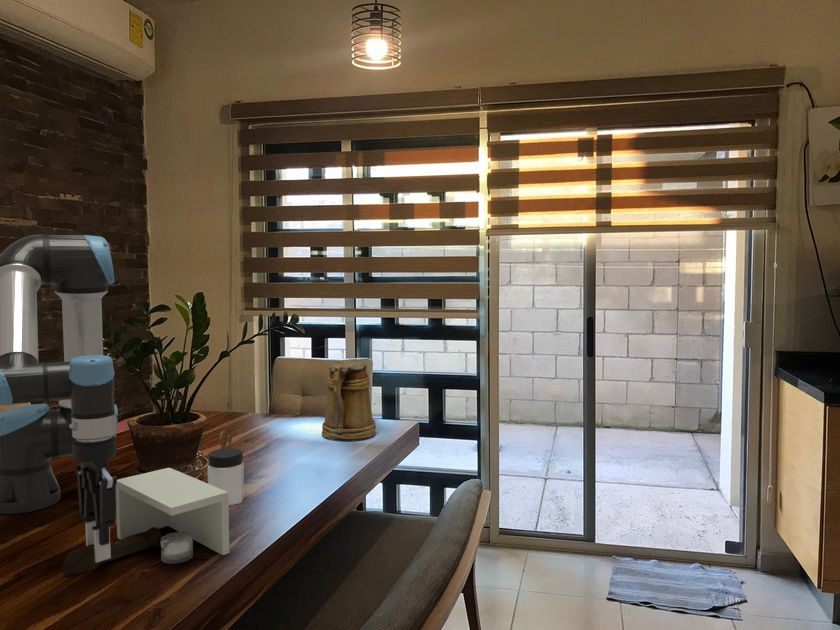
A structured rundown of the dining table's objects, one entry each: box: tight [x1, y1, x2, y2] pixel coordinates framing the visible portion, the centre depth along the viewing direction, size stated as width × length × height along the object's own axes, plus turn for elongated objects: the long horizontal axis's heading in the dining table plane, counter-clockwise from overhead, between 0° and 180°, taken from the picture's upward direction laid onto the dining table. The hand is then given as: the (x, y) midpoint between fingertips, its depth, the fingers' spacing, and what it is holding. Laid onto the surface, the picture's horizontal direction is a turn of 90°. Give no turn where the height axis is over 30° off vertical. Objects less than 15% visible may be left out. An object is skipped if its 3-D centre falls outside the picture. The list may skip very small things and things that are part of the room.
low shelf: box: [115, 467, 230, 556], centre depth 141 cm, size 24×12×12 cm, turn 47°
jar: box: [207, 447, 245, 507], centre depth 167 cm, size 9×8×12 cm
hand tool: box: [62, 527, 163, 577], centre depth 135 cm, size 19×4×5 cm, turn 139°
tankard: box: [321, 358, 377, 442], centre depth 228 cm, size 18×24×25 cm
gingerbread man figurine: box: [216, 430, 233, 450], centre depth 188 cm, size 9×4×12 cm, turn 168°
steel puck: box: [160, 531, 194, 565], centre depth 136 cm, size 6×6×4 cm
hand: (98, 556), depth 132 cm, fingers open, 3 cm apart
